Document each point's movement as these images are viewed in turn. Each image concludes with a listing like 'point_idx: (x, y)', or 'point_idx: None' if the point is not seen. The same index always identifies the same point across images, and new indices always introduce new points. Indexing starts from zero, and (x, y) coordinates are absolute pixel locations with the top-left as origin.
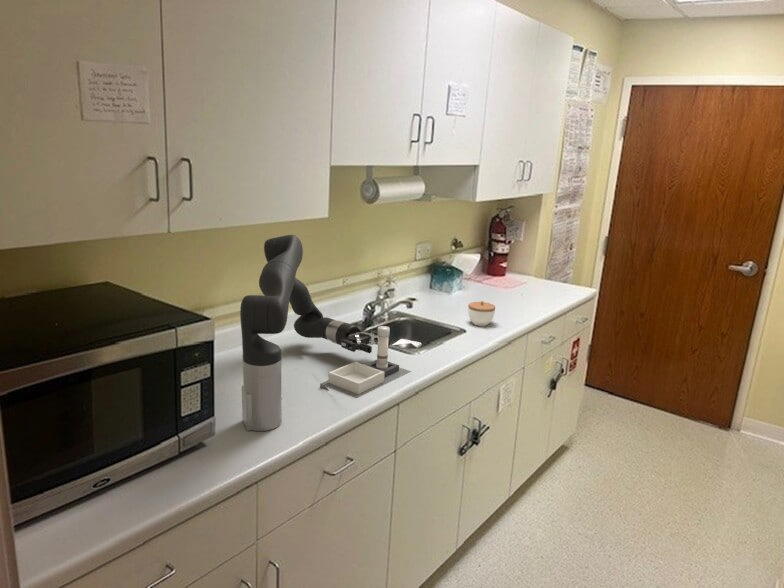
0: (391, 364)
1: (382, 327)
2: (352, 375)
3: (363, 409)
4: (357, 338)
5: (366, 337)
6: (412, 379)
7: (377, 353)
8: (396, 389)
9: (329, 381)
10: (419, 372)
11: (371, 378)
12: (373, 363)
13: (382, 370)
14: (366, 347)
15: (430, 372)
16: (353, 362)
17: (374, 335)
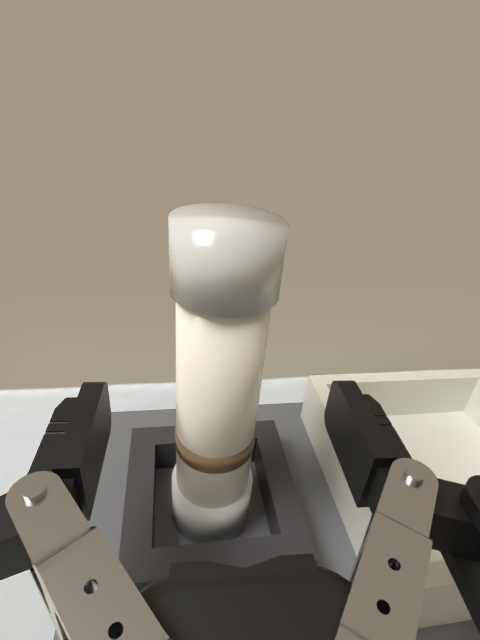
0: (154, 459)
1: (229, 223)
2: (440, 556)
3: (463, 369)
4: (408, 553)
5: (207, 582)
6: (145, 400)
7: (251, 436)
8: (274, 387)
9: None
10: (43, 422)
11: (402, 374)
12: (235, 545)
13: (266, 436)
14: (374, 403)
15: (14, 396)
16: (430, 580)
17: (74, 538)
